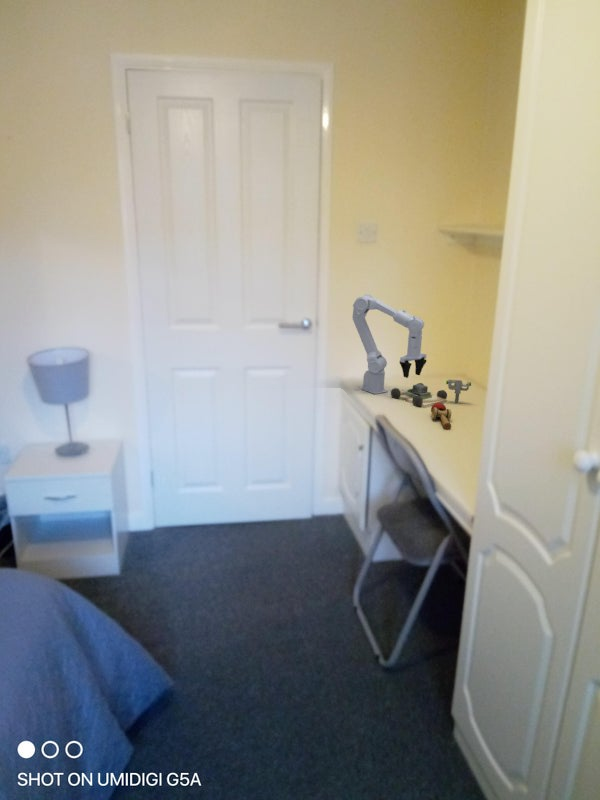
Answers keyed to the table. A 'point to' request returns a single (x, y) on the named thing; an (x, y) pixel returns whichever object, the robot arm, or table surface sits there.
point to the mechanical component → (457, 387)
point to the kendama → (441, 414)
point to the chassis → (420, 397)
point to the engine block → (419, 389)
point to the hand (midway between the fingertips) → (411, 375)
